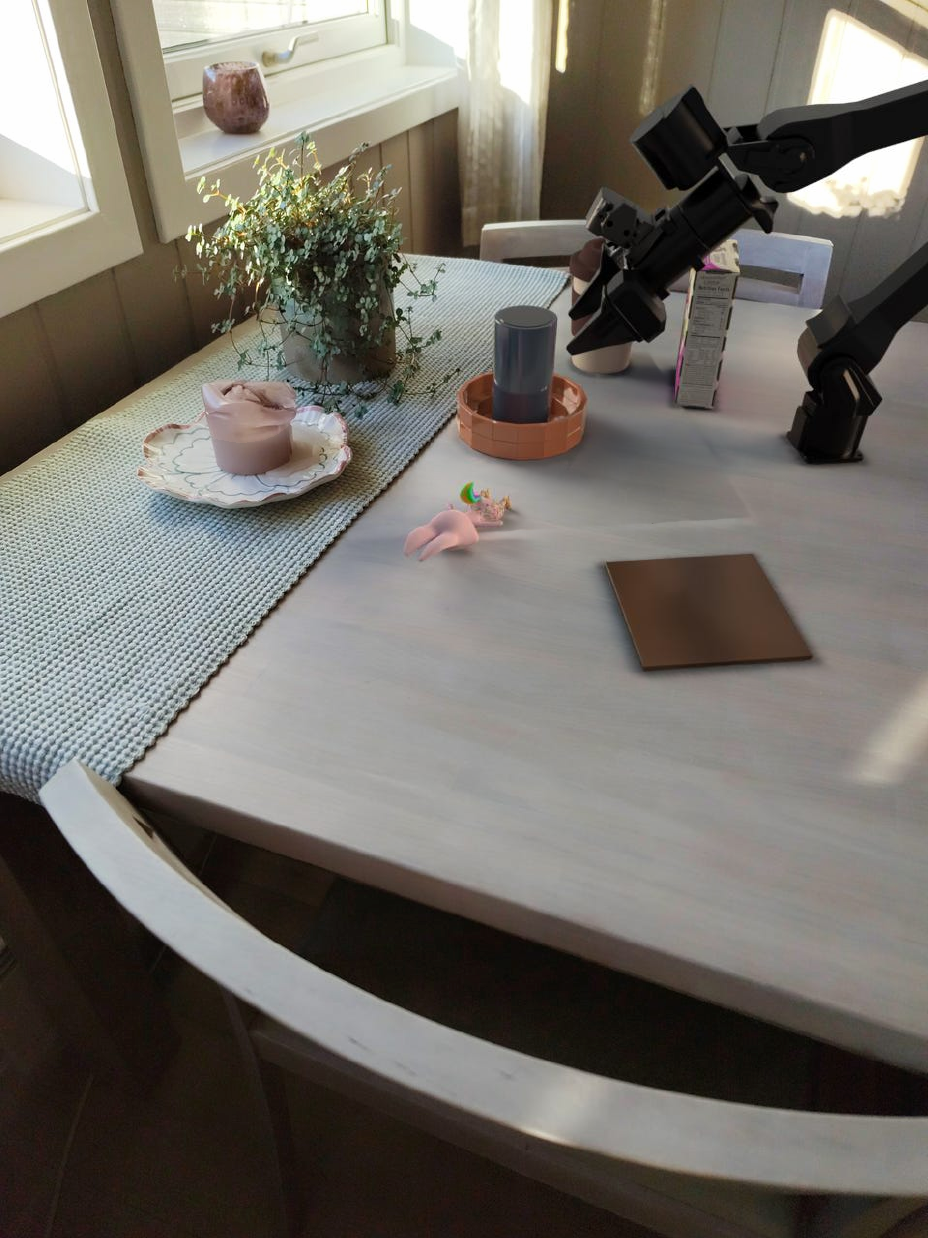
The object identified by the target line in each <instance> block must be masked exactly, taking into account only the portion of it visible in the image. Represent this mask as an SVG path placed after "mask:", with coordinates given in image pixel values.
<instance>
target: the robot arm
mask: <svg viewBox="0 0 928 1238" xmlns="http://www.w3.org/2000/svg"><path fill="white" fill-rule="evenodd" d="M927 136H928V79H924V80H920V81H918V82H915V83H912V84H911V83H910V84H908V85H906V86H902V87H899V88H896V89H893V90H890V91H886V92H883V93H880V94H877V95H874V96H870V97H867V98H864V99H861V100H858V101H851V102H843V103H841V102H840V103H814V104H808V105H807V104H806V105H799V106H792V107H791V106H790V107H784V108H779V109H776V110H773V111H772V112H770V113H768V114H766V115H765V116H764V117H762V118H761V119H760V121H759V122H753V123H746V124H739V125H737V124H736V125H729V126H721V125H720V123H719V122H718V120H716V118H715V116H714V115H713V114H712V112H711V111H710V110H709V108H708V106H707V105H706V103H705V100H704V97H703V95H702V94H701V92H700V91H699V90H698V88H697V87H696V85H695V83H689V84H688V85H687V86H686V87H685V88H684V89H683V90H682V91H681V92H679V93H677V94H675V95H674V96H672V97H671V98H669V99H668V100H666V101H665V102H664V103H663V104H662V105H660V104H659V105H657V106H656V107H655V108H654V109H653V110H652V111H651V112H650V113H649V114H648V115H647V116H646V117H645V118H644V119H643V120H642V121H641V123H640V124H639V125H638V126H637V127H636V129H634V131H633V133H632V134H631V136H630V138H629V143H630V144H631V146H632V147H633V148H634V150H635V151H636V152H637V153H638V155H639V156H640V158H641V159H642V160H643V161H644V162H645V164H646V165H647V167H648V168H649V169H650V170H651V172H652V173H653V175H654V176H655V177H656V179H657V180H658V181H659V182H660V184H661V185H662V186H663V187H664V189H665V190H667V191H672V190H674V189H676V188H677V190H678V191H679V192H686V191H688V190H690V189H691V190H690V191H688V193H687V194H685V195H684V196H683V197H682V198H681V199H680V200H679V201H678V202H676V203H675V204H674V205H673V206H672V207H671V208H670V207H669V206H668V205H667V204H665V205H661V206H659V207H658V208H657V209H655V210H654V211H653V212H652V213H651V212H649V211H647V210H645V209H644V208H642V207H641V206H640V205H638V204H636V203H635V202H634V201H632V200H630V199H627V198H626V197H625V196H622V195H621V194H619V193H617V192H615V191H614V190H612V189H611V188H609V187H605V186H601V188H600V189H599V192H598V194H597V195H596V197H595V199H594V201H593V203H592V205H591V206H590V209H589V210H588V212H587V214H586V216H585V220H586V222H585V226H584V227H585V229H586V230H587V231H588V232H589V233H591V234H593V235H594V236H596V237H601V238H603V237H604V238H606V244H607V246H608V247H609V248H608V247H607V246H606V244H604V243H603V244H602V250H601V261H600V267H599V269H598V271H597V272H596V274H595V275H594V277H593V278H592V280H591V281H590V283H589V284H588V285H587V287H586V288H585V289H584V291H583V292H582V294H581V295H580V296H579V298H578V299H577V301H576V302H575V303H574V305H573V306H572V305H571V308H570V309H569V310H568V311H567V313H568V314H567V315H568V317H569V318H570V319H572V320H573V321H576V320H578V319H581V318H583V317H586V316H588V315H590V314H593V313H595V312H596V313H595V314H594V315H593V316H592V317H591V319H590V320H589V321H588V322H587V323H586V324H585V325H584V326H583V328H582V329H581V330H580V331H579V332H578V333H577V334H576V335H575V337H574V338H573V337H572V339H571V340H570V341H569V343H567V345H566V347H565V350H566V352H568V354H569V355H570V356H574V355H578V354H582V353H586V352H590V351H594V350H598V349H601V348H606V347H610V346H614V345H619V344H624V343H629V342H633V343H634V342H636V343H639V344H640V343H642V342H646V343H647V344H650V343H651V342H652V341H654V340H655V339H656V338H657V337H659V336H660V335H661V334H663V333H664V332H665V331H666V325H667V320H668V319H667V318H668V315H667V309H666V304H665V302H664V301H665V300H666V299H667V298H668V297H669V296H671V291H670V287H672V286H673V285H674V284H675V283H677V282H678V281H680V280H681V278H683V277H684V276H686V274H688V273H690V272H691V269H692V268H694V270H695V271H696V272H697V273H698V272H699V271H700V270H701V269H702V268H704V267H705V266H706V265H705V261H704V259H705V258H706V257H707V256H708V255H709V254H711V253H712V251H714V250H715V249H717V248H718V247H719V246H720V245H721V244H723V243H724V242H725V241H726V240H728V239H730V238H732V237H733V236H734V235H735V234H736V233H738V232H739V231H740V230H742V228H743V227H745V226H747V224H748V223H750V222H751V221H752V220H753V219H754V220H755V222H756V223H757V224H758V226H759V227H760V228H761V230H762V231H763V232H764V234H766V235H770V234H771V233H773V231H774V222H775V216H776V213H777V210H778V208H779V206H780V202H779V201H778V199H777V198H776V196H774V195H771V196H770V195H769V196H767V195H763V194H762V192H761V190H760V189H759V188H758V186H757V185H756V184H755V182H754V181H753V179H752V178H751V176H750V175H754V176H757V177H758V178H759V179H760V181H761V182H762V184H764V186H765V187H766V188H767V189H770V190H771V191H773V192H775V193H777V194H789V193H795V192H798V191H801V190H802V189H804V188H807V187H809V186H811V185H813V184H815V183H817V182H819V181H821V180H824V179H826V178H828V177H830V176H832V175H833V174H835V173H837V172H838V171H840V170H841V169H842V168H845V166H847V165H849V164H850V163H851V162H853V161H854V160H856V159H858V158H861V157H862V156H865V155H867V154H869V153H873V152H876V151H880V150H882V149H886V148H890V147H893V146H896V145H900V144H903V143H906V142H909V141H913V140H916V139H920V138H923V137H927ZM723 154H725V155H726V156H727V157H728V159H729V160H730V161H731V163H732V164H733V165H734V167H735V169H736V170H737V171H739V172H742V173H740V174H738V175H735V176H734V174H733V173H732V172H731V171H730V169H729V167H728V166H727V165H726V164H725V162H724V161H723V159H722V158H721V156H722V155H723ZM715 167H716V168H715ZM714 168H715V169H714ZM713 169H714V170H713ZM712 170H713V171H712ZM749 174H750V175H749ZM927 307H928V241H926V242H925V243H924V244H923V245H922V246H920V247H919V248H918V249H917V250H916V251H915V252H914V253H913V254H911V255H910V256H909V257H908V258H907V259H906V260H905V261H904V262H902V263H901V264H900V265H899V266H898V267H897V268H895V270H894V271H893V272H891V273H890V274H889V275H888V276H887V277H886V278H884V279H883V280H882V281H881V282H880V283H879V284H878V285H876V287H875V288H873V289H872V290H871V291H870V292H869V293H867V294H865V295H864V296H861V297H858V298H857V299H853V300H851V301H848V302H847V303H846V301H845V299H844V298H843V297H842V295H841V294H836V295H835V296H834V297H833V298H831V300H829V302H828V303H827V304H826V306H825V307H823V309H822V310H821V311H820V312H819V313H817V314H816V315H814V316H813V317H811V318H809V319H807V320H805V322H804V323H805V325H806V328H805V329H804V331H803V332H802V333H801V334H800V335H799V337H798V340H797V346H796V354H797V359H798V362H799V364H800V366H801V368H802V371H803V373H804V375H805V378H806V380H807V383H808V384H809V386H810V387H811V388H812V390H805V392H804V395H803V399H802V403H801V405H798V406H797V407H796V409H795V414H794V417H793V421H792V425H791V428H790V430H789V431H786V433H785V438H786V439H787V440H788V441H789V443H790V444H791V445H792V447H793V448H794V449H795V450H796V452H797V453H798V454H799V456H800V457H801V458H802V459H803V461H804V462H805V463H807V464H827V463H828V464H830V463H847V462H849V463H850V462H862V461H864V458H865V454H863V452H861V450H860V449H859V447H860V444H861V441H862V439H863V435H864V432H865V429H866V425H867V423H868V420H869V417H871V416H872V415H873V414H874V413H875V411H876V410H877V408H878V407H879V406H880V404H882V402H883V397H882V395H881V393H880V391H879V390H878V388H877V386H876V384H875V382H874V381H873V379H872V377H871V375H870V374H871V372H872V371H874V370H875V368H876V367H877V366H878V365H879V364H880V362H881V361H882V360H883V358H884V356H886V353H887V351H888V349H889V347H890V346H891V344H892V343H893V341H894V339H895V337H896V336H897V334H898V333H899V332H900V331H901V329H902V328H903V327H904V326H906V325H907V324H908V323H909V322H910V321H911V320H913V319H914V318H915V317H916V316H918V315H919V314H920V313H921V312H922V311H924V309H926V308H927Z"/></svg>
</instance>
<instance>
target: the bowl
mask: <svg viewBox="0 0 928 1238" xmlns="http://www.w3.org/2000/svg"><path fill="white" fill-rule="evenodd" d="M492 390H493V370H492V371H488V372H483V373H480V374H478V375H476V376H474V377H472V378H470V379H468V380H466V381H465V382H464V383H463V384H462V386H461V387H460V388H459V390H458V392H457V395H456V396H457V397H456V398H457V401H456V402H457V403H456V404H457V405H456V406H457V407H456V408H457V417H456V418H457V419H456V420H457V430H458V434H459V435H458V436H459V438H460V439H461V440H462V441H464V442H465V443H466V445H467V446H469V447H470V448H471V449H473V450H476V451H478V452H480V453H483V454H485V455H488V456H491V457H494V458H500V459H506V460H507V459H508V460H513V461H527V460H529V461H530V460H545V459H547V458H551V457H555V456H558V455H559V456H560V455H562V454H565V453H567V452H568V451H570V450H571V449H572V448H574V447H575V446H577V445H579V444H580V442H581V440H582V438H583V435H584V433H585V427H586V416H587V408H588V398H587V395H586V393H585V391H584V389H583V387H582V386H580V385H579V384H578V383H577V382H575V381H573V379H571V378H569V377H566V376H563V375H560V374H557V373H555V372H554V373H553V387H552V401H551V415H550V422H546V423H536V424H513V423H506V422H499V421H494V420H492Z"/></svg>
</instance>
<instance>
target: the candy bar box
mask: <svg viewBox="0 0 928 1238" xmlns="http://www.w3.org/2000/svg"><path fill="white" fill-rule="evenodd" d="M738 247H739V246H738V240H737V239H733V238H732V239H730V238H729V239H728V240H726V241H725V242H724V243H723V244H721V245H720V246H719V247H718V248H717V249H715V250H714V251H712V253H711V254H709V255H708V256H707V257H706V258H705V259H704V261H705V265H706V266H705V267H704V268H702V269H701V270H700V271H699V272H698V273H697V272H696V271H695V270H694V268H692V269H691V270H690V271H689V273H690V274H689V280H688V286H687V292H686V299H685V305H684V311H683V318H682V324H681V331H680V337H679V345H678V350H677V351H678V352H677V357H676V358H677V359H676V365H675V382H674V383H675V385H674V386H675V387H674V404H679V405H681V407H682V408H691V409H706V410H714V408H715V403H716V398H717V392H718V387H719V384H720V383H719V382H720V377H721V372H722V367H723V362H724V357H725V350H726V345H727V341H728V336H729V330H730V326H731V318H732V314H733V311H734V309H733V308H734V303H735V298H736V292H737V287H738V282H739V278H740V273H741V272H740V259H739V258H740V257H739V248H738Z"/></svg>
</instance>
